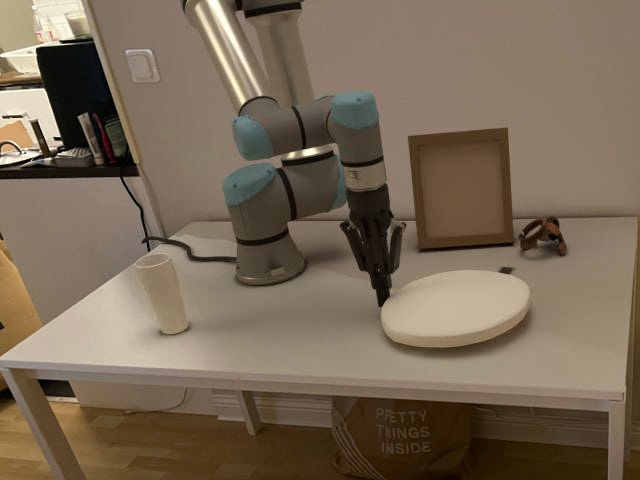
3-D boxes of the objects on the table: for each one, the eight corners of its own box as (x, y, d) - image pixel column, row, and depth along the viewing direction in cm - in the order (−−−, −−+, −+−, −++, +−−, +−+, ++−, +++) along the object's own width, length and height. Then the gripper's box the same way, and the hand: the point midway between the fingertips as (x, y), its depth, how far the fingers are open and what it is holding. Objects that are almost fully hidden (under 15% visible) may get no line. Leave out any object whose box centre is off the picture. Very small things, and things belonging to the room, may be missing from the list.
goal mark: (490, 284, 146) (490, 283, 146) (503, 268, 152) (503, 266, 152) (500, 285, 146) (500, 284, 145) (512, 268, 152) (512, 267, 152)
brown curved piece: (563, 263, 153) (542, 234, 149) (528, 275, 159) (507, 247, 155) (578, 229, 160) (559, 200, 156) (544, 241, 166) (524, 214, 162)
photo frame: (514, 246, 162) (508, 134, 149) (418, 252, 164) (404, 143, 151) (512, 222, 174) (507, 117, 161) (424, 228, 176) (411, 125, 163)
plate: (366, 337, 123) (388, 272, 145) (376, 369, 126) (396, 300, 148) (529, 313, 118) (525, 249, 141) (534, 347, 121) (530, 279, 144)
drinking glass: (165, 321, 146) (142, 254, 139) (197, 319, 146) (175, 251, 138) (153, 338, 141) (127, 268, 133) (186, 336, 140) (163, 266, 132)
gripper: (324, 190, 126) (346, 309, 138) (389, 194, 121) (406, 316, 133) (345, 177, 132) (364, 292, 144) (408, 179, 127) (422, 298, 139)
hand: (384, 304), depth 139 cm, fingers closed
